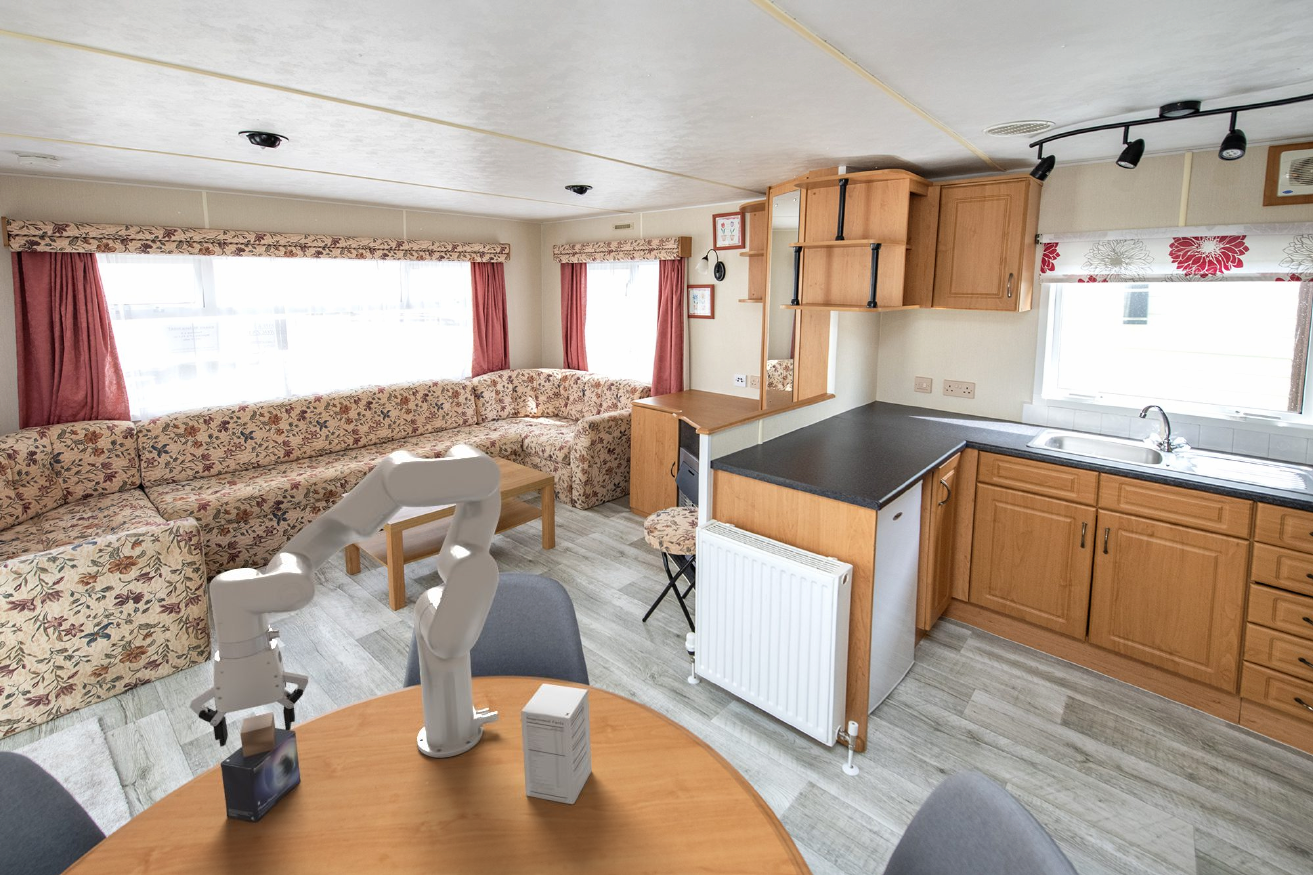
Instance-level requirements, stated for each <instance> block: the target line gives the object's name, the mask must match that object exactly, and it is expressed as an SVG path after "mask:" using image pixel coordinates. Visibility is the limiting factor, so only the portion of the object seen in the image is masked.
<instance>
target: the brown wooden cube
mask: <svg viewBox="0 0 1313 875" xmlns="http://www.w3.org/2000/svg"><path fill="white" fill-rule="evenodd" d="M275 728H276V723H275V715H274V711H272V712H268V713H263V714H259V715H254V716H250V717H246V718H243V720H242V725H241V729H240V741H241V747H242V750H243V757H247V756H251V755H255V754H259V753H263V752H267V751H270V750H274V747H275V740H276V729H275Z"/></svg>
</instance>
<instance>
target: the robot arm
mask: <svg viewBox="0 0 1313 875" xmlns="http://www.w3.org/2000/svg"><path fill="white" fill-rule="evenodd" d="M501 481H502V471H501V469H500V466H499V464H498V463H497V461H496V460H495V459H494V458H493V457H492V456H490V455H488V454H487V453H485V452H483V451H482V450H481V449H479V448H478V447H476V446H474V445H470V444H466V443H465V444H463V443H462V444H457V445H454V446H452V447H451V448H449V450H448V451H446V453H445V455H444V456H443V458H442V457H441V458H440V457H439V458H423V457H421V456H419V455H418V454H416V453H415V452H413V451H409V450H397V451H394V452H392V453H390V454H389V455H388V456H386V457H385V458H383V460H381V461H380V462H379V463H378V464H377V465H376V466H375V467H374V468H373V469H372V470H371V471H370V472H369V473H368V474H366V476H365V477H363V479H362V480H360V481H359V482H358V483H357V485H355V486H354V487H353V488H352V489H351V490H350V491H349V492H348V493H347V494H345V496H344V497H343V498H341V500H339V501H338V502H337V503H336V504H334V506H332V507H331V508H329V509H328V510H326V511H325V512H324V513H323V514H321V515H320V516H318V517H317V518H316V519H313V521H311V522H310V523H308V524H307V525H306V526H304V527H303V528H302V529H301V530H300V531H298V532H297V534H295V536H293V537H292V538H291V539H290V540H289V541H288V542H287V543H286V544H284V546H283V547H282V548H280V550H278V552H277V553H275V555H274V556H273V557H272V558H271V560H269V562H268V564H267V566H266V569H265V573H264V574H263V573H261V572H260V571H259V570H258V569H254V568H249V567H246V568H243V567H242V568H237V569H231V570H227V571H224V572H221V573H220V574H217V575H216V576H215V577H213V579H211V581H210V583H209V595H210V601H211V609H212V617H213V622H214V631H215V637H216V643H217V652H215V653H214V661H213V687H211V688H210V689H208V690H206V691H205V692H204V693H201V694H200V695H199V696H197V697H194V699H192V700H191V702H190V704H189V708H190V710H192V711H193V712H194V713H195V714H196V715H197V716H198V718H199V719H201V720H202V721H205V722H207V723H209V725H210V726H211V727H213V728H212V729H213V733H214V741H219V747H220V748H221V747H224V746H226V744H227V742H228V741H227V740H228V737H229V732H228V726H227V719H226V716H225V715H226V714H227V713H234V712H238V711H244V710H248V709H251V708H255V707H261V706H265V705H269V704H273V703H276V702H277V703H278V704H280V705H282V707H283V720H284V727H285V728H284V729H286V730H291V727H292V723H294V722H296V713H295V704H296V703H297V702H298V701H299V700H300V699H301V698H302V696H303V694H304V692H305V691H306V688H307V686H308V684H309V676H307V675H304V674H299V673H294V672H289V671H285V665H284V660H283V657H282V653H281V650H280V647H279V644H278V642H277V640H276V639H278V638H281V631H280V629H272V627H271V624H270V623H269V615H268V614H282V613H283V614H285V613H292V612H297V611H301V610H303V609H304V608H306V607H308V606H309V605H310V604H311V603H312V601H313V600H314V598H315V596H316V594H317V582H316V578H315V577H316V576H315V574H316V572H318V571H319V570H320V569H321V567H322V566H323V565H325V563H327V562H328V561H329V560H330V559H331V558H332V557H333V556H334V555H336V553H338V552H339V551H340V550H342V549H345V547H348V546H349V545H352V544H355V543H362V542H365V541H368V540H370V539H372V538H374V537H375V536H376V535H377V534H378V533H379V532H380V531H381V529H383V528H384V527H385V526H386V525H387V524H388V523H389V522H390V521H391V520H392V519H393V518H394V517H395V516H396V515H397V514H398V513H399V512H400V511H401V510H402V509H403V508H404V507H405V508H428V507H429V508H430V507H439V506H446V505H448V506H449V505H455V504H456V505H455V509H454V512H453V516H452V520H451V522H450V525H449V528H448V530H447V533H446V536H445V538H444V540H443V543H442V546H441V549H440V550H439V553H438V557H437V559H436V569H437V572H438V575H439V576H440V578H441V580H442V581H443V583H444V585H441V586H440V585H439V586H433V587H431V588H429V589H426V590H425V591H424V592H423V593H422V594H421V595H420V596H419V597H418V599H417V601H416V603H415V605H414V608H413V626H414V632H415V638H416V639H415V640H416V644H417V653H418V661H419V662H418V664H419V677H420V678H419V679H420V688H421V689H420V690H421V700H422V711H423V712H422V713H423V715H422V716H423V726H424V727H423V728H422V729H420V731H419V732H418V734H417V737H416V738H417V739H416V743H417V744H416V745H417V748H418V750H419V751H420V752H421V753H422V754H424V756H425V755H426V756H428V757H432V758H450V757H453V756H454V757H455V756H457V755H460V754H463V753H465V752H467V751H469V750H471V749H472V748H474V747H475V746H476V745H477V744H478V742H479V741H480V740H481V739H482V737H483V732H484V730H483V729H484V728H483V726H484V725H486V724H491V723H494V722H495V723H496V722H498V721H499V714H498V711H497V710H496V711H492V712H490V709H489V707H485V708H482V709H479V710H478V709H475V707H474V702H473V701H474V699H473V698H474V697H473V684H472V683H473V681H472V670H471V669H472V668H471V666H472V665H471V654H470V653H471V652H470V651H471V649H473V647H474V646H475V644H476V643H477V641H478V639H479V637H480V636H481V633H482V631H483V628H484V625H485V623H486V620H487V618H488V615H489V612H490V608H491V607H492V604H493V601H494V599H495V598H494V597H495V596H496V593H497V589H498V585H499V578H500V573H499V567H498V563H497V562H496V560H495V559H494V556H492V555H491V554H490V548H491V545H492V542H493V540H494V539H493V538H494V537H495V532H496V530H497V526H498V523H499V519H500V516H501V511H502V510H501V509H502V494H501V488H500V484H501ZM287 683H289V684H295V685H297V687H295V689H294V690H293V691H292V692H290V691H288V689H286V688H287ZM212 699H214V706H215V709H212V708H210V707H208V706H206V705H205V704H206V703H207V702H209V701H210V700H212Z"/></svg>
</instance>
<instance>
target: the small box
mask: <svg viewBox="0 0 1313 875" xmlns="http://www.w3.org/2000/svg"><path fill="white" fill-rule="evenodd" d="M275 729H276V740H275V747H274V750H270V751H267V752H263V753H259V754H255V755H251V756H247V757H243V750H242V746H240V747H239V748H238V749H237V750H235V751H234V752H233V753H232V754H230V755H229V756H227V758H225V759H224V760H223V761H221V762H220V769H221V776H222V783H223V784H222V786H223V792H224V800H225V809H226V818H230V819H236V820H241V821H247V822H253V823H258V822H259V820H260V819H261V818H263V817H264V816H266V814H267V813H268V812H269V811H270V810H272V808H273V807H275V806H276V805H277V804H278V803H279V802H280V801H281V800H282V799H283V798H284V797H285V796H286V795H287V794H288V793H289V792H291V791H292V790H293V789H294V788H295V787H296V786H297V785H298V784H299V783H300V782H301V772H300V764H299V762H300V761H299V755H298V754H299V753H298V744H297V735H296V731H295V730H291V729H290V730H286V729H285V728H280V727H275Z"/></svg>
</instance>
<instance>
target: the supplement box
mask: <svg viewBox="0 0 1313 875" xmlns="http://www.w3.org/2000/svg"><path fill="white" fill-rule="evenodd" d="M520 714H521V733H522V752H523V764H524V765H523V766H524V767H523V768H524V781H525V782H524V783H525V785H524V786H525V794H526V796H527V797H534V798H538V799H542V800H549V801H553V802H558V803H564V804H567V805H568V804H570V805H574V804H575V802H576V801H577V799H578V797H579V795H580V793H581V791H582V789H583V788H584V786H585V785H586V782H587V780H588V778H589V776H590V774H591V773H592V749H591V729H590V728H591V725H590V724H591V723H590V722H591V721H590V705H589V690H588V689H585V688H578V687H571V686H564V685H555V684H551V683H550V684H549V683H542V684H541V685H540V687H539V688H538V690H536V692H535V693H534V695H533V696H532V697H531V698H530V700H529V701H528V702H527V703H526V705H524V707H523V708H522V710H521V711H520Z"/></svg>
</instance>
